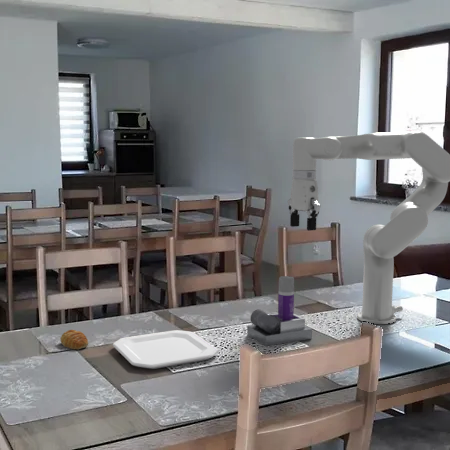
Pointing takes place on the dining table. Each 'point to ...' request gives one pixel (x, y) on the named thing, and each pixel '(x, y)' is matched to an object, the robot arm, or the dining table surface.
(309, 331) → the block
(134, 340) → the plate
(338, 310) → the dining table surface
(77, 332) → the pastry
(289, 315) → the container
